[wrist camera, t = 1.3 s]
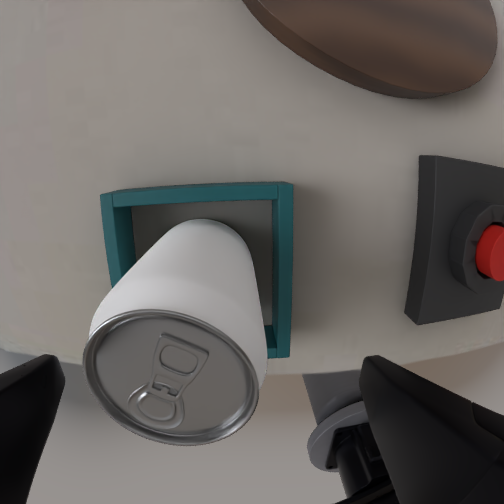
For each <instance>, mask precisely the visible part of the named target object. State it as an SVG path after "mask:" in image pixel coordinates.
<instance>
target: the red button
mask: <svg viewBox="0 0 504 504" xmlns="http://www.w3.org/2000/svg"><path fill="white" fill-rule="evenodd" d="M475 263H476V266H477V268H478V270H479V271H480V272H481V273H483V274H485V275H487V276H489V277H491V278H492V279H494V280H496V281H503V280H504V228H503V227H500V226H497V225H491V226H488V227H487V228H486V229H485V230H484V231H483V233H482V235H481V237H480V239H479V241H478V243H477V247H476V253H475Z"/></svg>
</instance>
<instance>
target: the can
mask: <svg viewBox="0 0 504 504" xmlns="http://www.w3.org/2000/svg"><path fill="white" fill-rule="evenodd" d="M82 363H83V373H84V377H85V381H86V384H87V386H88V388H89V390H90V392H91V394H92V396H93V397H94V399H95V400H96V402H97V403H98V405H99V406H100V407H101V408H102V409H103V410H104V411H105V412H106V413H107V414H108V415H109V416H110V417H111V418H112V419H113V420H115V421H116V422H117V423H118V424H120V425H121V426H123V427H124V428H126V429H127V430H129V431H131V432H133V433H135V434H137V435H139V436H141V437H144V438H146V439H149V440H152V441H156V442H160V443H164V444H169V445H178V446H196V445H203V444H209V443H213V442H216V441H219V440H222V439H224V438H226V437H228V436H230V435H232V434H234V433H235V432H237V431H238V430H239V429H241V428H242V427H243V426H244V425H245V424H246V423H247V422H248V421H249V419H250V418H251V416H252V415H253V413H254V411H255V409H256V406H257V403H258V399H259V390H260V388H261V386H262V384H263V381H264V378H265V375H266V371H267V345H266V337H265V331H264V324H263V318H262V312H261V306H260V300H259V294H258V288H257V283H256V277H255V271H254V266H253V261H252V257H251V254H250V251H249V249H248V247H247V245H246V243H245V242H244V240H243V239H242V238H241V237H240V235H239V234H238V233H237V232H235V231H234V230H233V229H232V228H230V227H229V226H227V225H225V224H223V223H221V222H218V221H214V220H210V219H193V220H188V221H185V222H182V223H180V224H178V225H176V226H175V227H173V228H172V229H170V230H169V231H168V232H167V233H166V234H165V235H164V236H162V237H161V238H160V239H159V240H158V241H157V242H156V243H155V244H154V245H153V246H152V247H151V248H150V249H149V250H148V251H147V252H146V253H145V254H144V255H143V256H142V257H141V258H140V259H139V260H138V261H137V263H136V264H135V265H134V266H133V267H132V268H131V269H130V270H129V271H128V272H127V273H126V274H125V275H124V276H123V277H122V278H121V280H120V281H119V282H118V283H117V284H116V285H115V286H114V287H113V288H112V290H111V291H110V292H109V293H108V294H107V296H106V297H105V298H104V299H103V301H102V302H101V304H100V305H99V307H98V309H97V310H96V312H95V314H94V317H93V320H92V323H91V327H90V334H89V339H88V341H87V343H86V345H85V348H84V352H83V362H82Z"/></svg>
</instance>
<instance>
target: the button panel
mask: <svg viewBox="0 0 504 504" xmlns="http://www.w3.org/2000/svg"><path fill="white" fill-rule="evenodd" d="M491 225H497V226H500V227H503V228H504V168H501V167H496V166H492V165H487V164H482V163H477V162H471V161H466V160H460V159H455V158H448V157H442V156H428V155H420V156H419V187H418V207H417V222H416V233H415V243H414V252H413V261H412V268H411V275H410V282H409V289H408V295H407V300H406V306H405V311H404V313H405V314H406V315H407V316H408V317H409V318H410V319H411V320H412V321H413V322H414V323H415V324H416V325H422V324H428V323H434V322H439V321H445V320H450V319H455V318H460V317H465V316H470V315H474V314H479V313H483V312H488V311H492V310H496V309H500V306H501V302H502V298H503V294H504V280H503V281H496V280H494V279H492V278H491V277H489V276H487V275H485V274H483V273H481V272H480V271H479V270H478V268H477V266H476V263H475V253H476V247H477V243H478V241H479V239H480V237H481V235H482V233H483V231H484V230H485V229H486V228H487V227H488V226H491Z"/></svg>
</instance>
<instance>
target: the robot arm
mask: <svg viewBox="0 0 504 504" xmlns="http://www.w3.org/2000/svg"><path fill="white" fill-rule="evenodd" d="M64 386H65V376H64V374H63V371H62V368H61V366H60V363H59V360H58V358H57V357H56V356H54V355H48V354H44V355H42V356H39V357H37V358H35V359H33V360H30V361H28V362H26V363H24V364H22V365H20V366H17V367H15V368H13V369H11V370H8V371H6V372H4V373H2V374H0V504H26V502H27V498H28V495H29V491H30V488H31V485H32V482H33V478H34V475H35V472H36V469H37V466H38V463H39V460H40V457H41V455H42V452H43V449H44V446H45V444H46V441H47V438H48V436H49V433H50V430H51V428H52V425H53V423H54V419H55V416H56V413H57V409H58V405H59V402H60V399H61V396H62V392H63V389H64ZM359 387H360V390H361V394H362V398H363V401H364V405H365V409H366V412H367V416H368V420H369V422H367V423H362V424H357V425H352V426H346V427H340V428H337V429H336V430H334V432H333V436H332V440H331V444H330V448H329V452H328V456H327V460H326V463H325V467H326V469H327V470H331V469H337V468H338V471H339V474H340V477H341V480H342V483H343V486H344V490H345V493H346V496H347V499H345V500H342V501H340V502H337V503H335V504H504V415H501V414H498V413H496V412H493V411H491V410H489V409H487V408H485V407H482V406H480V405H478V404H476V403H474V402H473V403H472V402H471V401H470V400H468V399H465V398H463V397H461V396H459V395H457V394H455V393H453V392H451V391H449V390H447V389H445V388H443V387H441V386H439V385H437V384H435V383H433V382H430V381H429V380H427V379H425V378H422V377H420V376H418V375H417V374H415V373H413V372H411V371H409V370H406V369H405V368H403V367H401V366H399V365H397V364H395V363H393V362H391V361H389V360H387V359H385V358H383V357H381V356H379V355H374V356H367V357H366V358H364V361H363V364H362V369H361V374H360V378H359Z"/></svg>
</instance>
